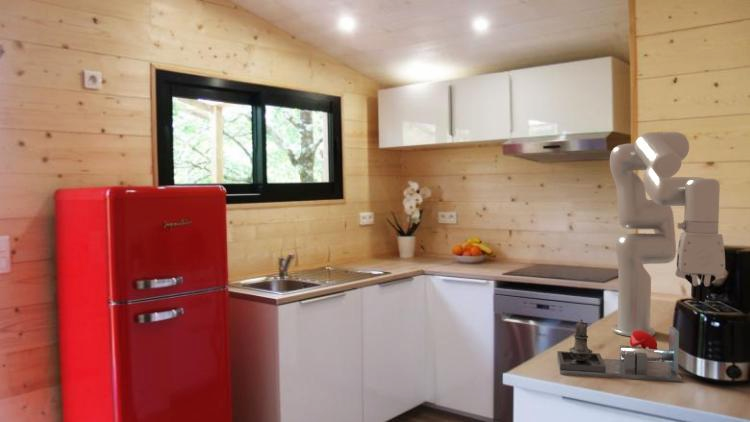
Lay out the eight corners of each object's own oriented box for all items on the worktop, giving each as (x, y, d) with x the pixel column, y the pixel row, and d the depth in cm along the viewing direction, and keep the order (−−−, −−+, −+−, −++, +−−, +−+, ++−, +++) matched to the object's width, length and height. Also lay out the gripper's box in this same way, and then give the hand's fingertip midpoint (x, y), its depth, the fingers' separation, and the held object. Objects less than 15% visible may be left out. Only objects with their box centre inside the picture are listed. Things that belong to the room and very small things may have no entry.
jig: (557, 359, 165) (557, 339, 165) (669, 366, 159) (669, 345, 159) (560, 373, 154) (560, 352, 153) (681, 382, 147) (682, 360, 147)
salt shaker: (593, 368, 155) (594, 322, 154) (570, 366, 156) (570, 321, 155) (590, 360, 161) (591, 316, 160) (567, 359, 162) (568, 315, 161)
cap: (622, 340, 172) (639, 333, 168) (630, 329, 176) (647, 322, 172) (640, 363, 171) (658, 357, 167) (647, 352, 175) (665, 345, 171)
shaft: (619, 361, 158) (620, 324, 158) (672, 364, 155) (673, 326, 155) (622, 367, 154) (623, 329, 153) (677, 371, 151) (679, 332, 150)
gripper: (671, 229, 147) (669, 303, 149) (740, 230, 144) (737, 305, 145) (664, 226, 155) (662, 296, 156) (729, 227, 151) (727, 299, 153)
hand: (698, 300), depth 151 cm, fingers closed
